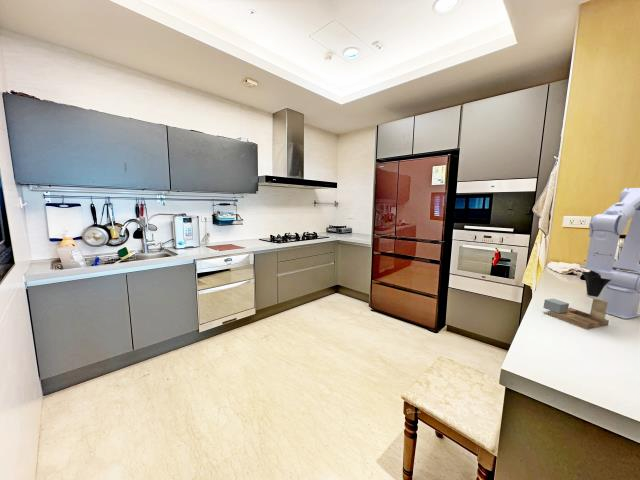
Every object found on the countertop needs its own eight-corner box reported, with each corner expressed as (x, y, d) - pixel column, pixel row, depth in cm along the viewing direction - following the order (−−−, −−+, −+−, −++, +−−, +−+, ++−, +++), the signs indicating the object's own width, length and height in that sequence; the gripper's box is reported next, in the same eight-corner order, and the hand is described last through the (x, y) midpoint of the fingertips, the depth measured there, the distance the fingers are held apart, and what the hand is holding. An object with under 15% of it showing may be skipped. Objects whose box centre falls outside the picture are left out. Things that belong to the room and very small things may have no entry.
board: (569, 311, 91) (570, 307, 90) (607, 325, 81) (608, 320, 81) (548, 315, 87) (549, 310, 87) (586, 329, 78) (587, 324, 78)
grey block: (551, 306, 90) (553, 298, 90) (567, 312, 86) (569, 303, 86) (543, 307, 89) (544, 299, 88) (558, 313, 85) (560, 304, 84)
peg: (593, 316, 84) (596, 298, 83) (606, 320, 81) (610, 302, 80) (587, 317, 83) (590, 299, 82) (600, 321, 80) (604, 303, 79)
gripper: (576, 248, 87) (568, 286, 89) (591, 255, 74) (582, 299, 77) (605, 251, 83) (597, 291, 85) (627, 259, 71) (616, 305, 73)
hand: (592, 295), depth 81 cm, fingers closed
